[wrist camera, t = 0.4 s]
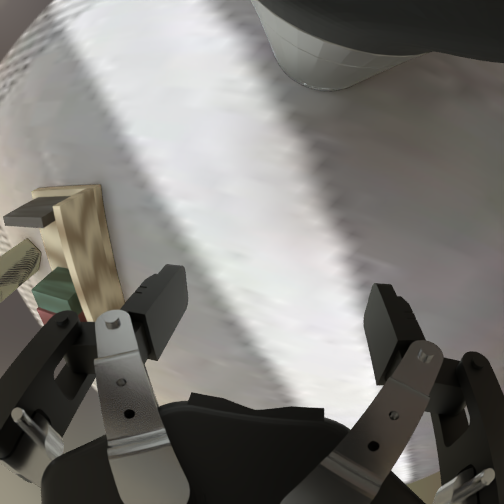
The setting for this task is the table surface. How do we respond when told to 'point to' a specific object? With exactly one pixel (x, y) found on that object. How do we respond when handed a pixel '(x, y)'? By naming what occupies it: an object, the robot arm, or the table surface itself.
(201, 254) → the table surface
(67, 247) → the shelf
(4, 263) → the box
